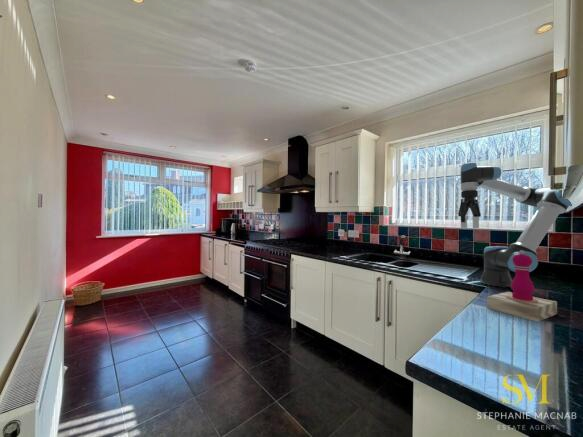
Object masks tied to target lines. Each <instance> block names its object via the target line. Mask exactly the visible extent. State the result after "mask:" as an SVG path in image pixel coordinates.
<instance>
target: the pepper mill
mask: <svg viewBox="0 0 583 437" xmlns="http://www.w3.org/2000/svg"><path fill="white" fill-rule="evenodd" d="M524 254H525V252H524V251H519V254H517V255H515V256H514V257H513V259H512V261H513V263H514V264H515V265H514V266H515V267H514V269H515V271H516V272H514V273H515V275H514V277H513V279H512V283H511V287H510V289H511V290H512V291H513V292H512V297H513V298H516V299H520V300H526V301H532V300H533V297H534V295H533V293H534V292H535V284H534V283H533V281H532V279H531V278H530V272H529V270H531V269H530V268H531V267H529V266H530V265H531V264H532V259H531V257H529V256H528V255H524Z"/></svg>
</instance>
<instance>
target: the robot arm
mask: <svg viewBox="0 0 583 437" xmlns="http://www.w3.org/2000/svg"><path fill="white" fill-rule="evenodd" d="M459 172H460V191H461V192H460V195H461V196H460V197H461V199H460V205H459V208H458V213H457V214H458V217H460V228H461V229H468V216H467V213H468V211H469V210H471V213H472V229H480V217H481V216H482V215H481V209H480V206H479V201H478V200H479V199H477V198H478V197H479V191H478V187H479V188H481V189H485V190H487V191H491V192H494V193H496V194H500V195H502V196H505V197H508V198H511V199H515V201H516V202H517V203H520V204H523V205H526V206H529V207H535V208H537V209H536V211H535V213H534V214H533V215H532V217H531V219H530V221H529V222H528V224H527V225H526V227H525V228H524V229H523V231H522V232H521V233H520V236H519V237H518V238H517V240H516V242H513V243H511V244H510V245H509V246H486V247H485V248H484V249H483V272H482V275H481V277H480V283H481V284H482V283H483V285H485V284H487V285H486V286H490V285H492V286H491V287H495V286H498V287H497V288H506V287H510V288H511V283H512V281H513V279H512V277H511V274H510V271H511V272H513V273H516V271H515V269H514V267H515V266H514V265H515V264H514V263H513V261H512V259H513V257H514V256H515V255H517V254H519V251H524V252H525V254H524V255H528V256H529V257H531V259H532V264H531V265H530V266H529V267H531V268H530V269H531V270H529V273H531V272H533V271H534V270H535V269H536V268H537V267H538V265H539V261H538V260H539V259H538V257H537V256H538V253H537V248H538V247H539V245H540V244H541V243H542V240H543V239H544V238H545V236H546V235H547V233H548V232H549V230H550V229H551V227H552V225H553V224H554V223H555V221H556V220H557V218H558V216H559V215H560V214H564V213H566V212H567V210H568V208H569V207H573V206H572V204H571V202H570V201H569V200H568V199H563V198H562V190H551V189H550V187H551V186H548V187H540V188H538V187H537V188H533V187H528V186H524V187H523V186H519V185H516V184H514V183H510V182H507V181H504V180H501V179H500V177H501V175H502V169H501V167H500V166H494V165H490V166H478V163H477V162H473V161H472V162H465V163H462V164H461V165H460V171H459ZM475 198H476V199H475Z"/></svg>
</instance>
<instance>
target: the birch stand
mask: <svg viewBox="0 0 583 437" xmlns="http://www.w3.org/2000/svg"><path fill="white" fill-rule="evenodd" d="M512 293H513V292H511V291H505V292H500V293H496V294H492V295H488V296H487V298H486V305H487V306H486V308H487V309H489V310H493V311H497V312H500V313H503V314H504V313H505V314H507V315H512V316H515V317H519V318H524V319H527V320H530V321H535V322H541V321H543V320H546V319H548V318H551V317H553V316H555V315H556V316H557V314H558V301H556V300H550V299H544V298H541V297H540V298H539V297H535V296H533V300H532V301H526V300H520V299H516V298H513V297H512Z"/></svg>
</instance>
